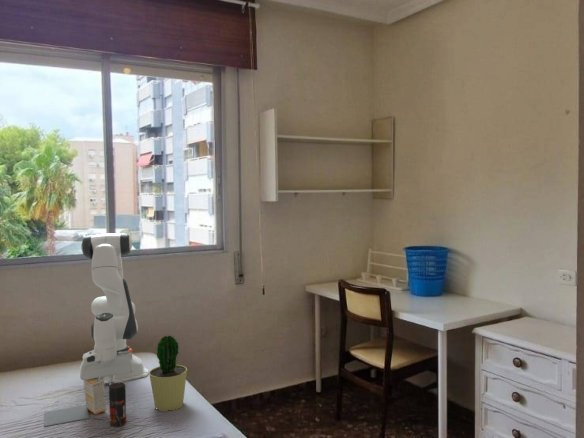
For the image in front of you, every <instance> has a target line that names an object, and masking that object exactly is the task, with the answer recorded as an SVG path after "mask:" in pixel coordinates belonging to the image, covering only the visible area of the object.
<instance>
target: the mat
mask: <svg viewBox="0 0 584 438" xmlns="http://www.w3.org/2000/svg"><path fill="white" fill-rule="evenodd" d="M89 419H90V413H89V410H88V409H87V408H86V404H83V405H82V404H81V405H77V406H71V407H70V406H69V407H65V408H60V409H59V408H58V409H55V410H54V409H53V410H49V411H44V419H43V420H44V421H43V428H47V427H51V426H57V425H63V424H67V423H74V422H78V421H83V420H89Z"/></svg>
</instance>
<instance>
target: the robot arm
mask: <svg viewBox="0 0 584 438" xmlns="http://www.w3.org/2000/svg"><path fill="white" fill-rule="evenodd" d="M80 248H81V249H80V250H81V252H82V254H83V257H86V258H88V259H90V260H91V279H92V281H93V283H94V285H95V286H96V287H98V288H99V289H101V290H102V291H103V294H104V296H103V295H102V296H98V297H95V298H94V300H93V301H92V302H91V304H90V311H91V313H92V314H93V315H94V321H93V322H92V324H91V325H90V328H91V329H90V331H91V338H92V340H94V345H93V349H92V350H90V351H87V352H85V353H83V355H82V361H81V363H80V368H79V379H80V380H82V381H84V380H89V379H95V378H100V379H101V380H103V386H104V388H109V386H110V385H111V384H114V383H125V382H129V381H132V380H137V379H141V378H145V377H147V376H148V375H149V369H148V368H147V367H145V366H144V363H143V361H142V360H141V358H140V357H138V356H136V355H135V354H133V349H132V348H131V347H130V346H129V345H127V340H132V339H133V338H134V337H135V336H136V335H137V334H138V331H139V326H138V321H137V319H136V316H135V314H136V310H137V309H136V305H135V303H134V302H133V301H132V297H131V293H130V290H129V286H128V283H127V281H126V279H124V268H123V267H124V266H123V259H122V258H124V257H125V256H127V255H129V254H130V253H131V250H132V248H133V241H132V238H131V237H130V235H129V234H127V233H123V232H121V233H113V232H111V233H110V232H109V233H101V234H95V235H92V234H90V235H86V236H84V238H83V239H82V241H81V245H80Z"/></svg>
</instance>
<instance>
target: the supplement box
mask: <svg viewBox="0 0 584 438" xmlns="http://www.w3.org/2000/svg"><path fill="white" fill-rule="evenodd" d="M83 387H84V397H85V405H86V408H87V409H88V411H90V412H91V413H93V414H94V415H99V414H100V413H103V412H104V411H106V401H105V400H106V399H105V398H106V397H105V387H104V386H103V380H101V379H100V378H95V379H89V380H83Z"/></svg>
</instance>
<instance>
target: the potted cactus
mask: <svg viewBox="0 0 584 438" xmlns="http://www.w3.org/2000/svg"><path fill="white" fill-rule="evenodd" d="M179 343H180V342H179V341H177V339H175V336H174V335H173V336H172V335H164V336H162V337H161V338H160V340H159V341H158V343H157V345H156V346H157V347H155V350H156V358H157V360H156V362H158V364H159V366H156V367H154V368H152V369H150V370H149V371H148V375H149V380H150V386H151V389H152V395H153V401H154V406H155V409H156V408H157V409H159V410H164V411H163V412H169V411H168V410H173V411H176V410H178V408H179V409H181V408H182V406H183V405H184V401H185V391H186V381H187V373H188V368H187V366H184V365H181V364H177V362H178V361H177V359H178V355H179V354H181V352H179V349H180V348H181V347H179ZM157 409H156V410H157ZM175 409H176V410H175ZM159 410H158V411H159Z"/></svg>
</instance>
